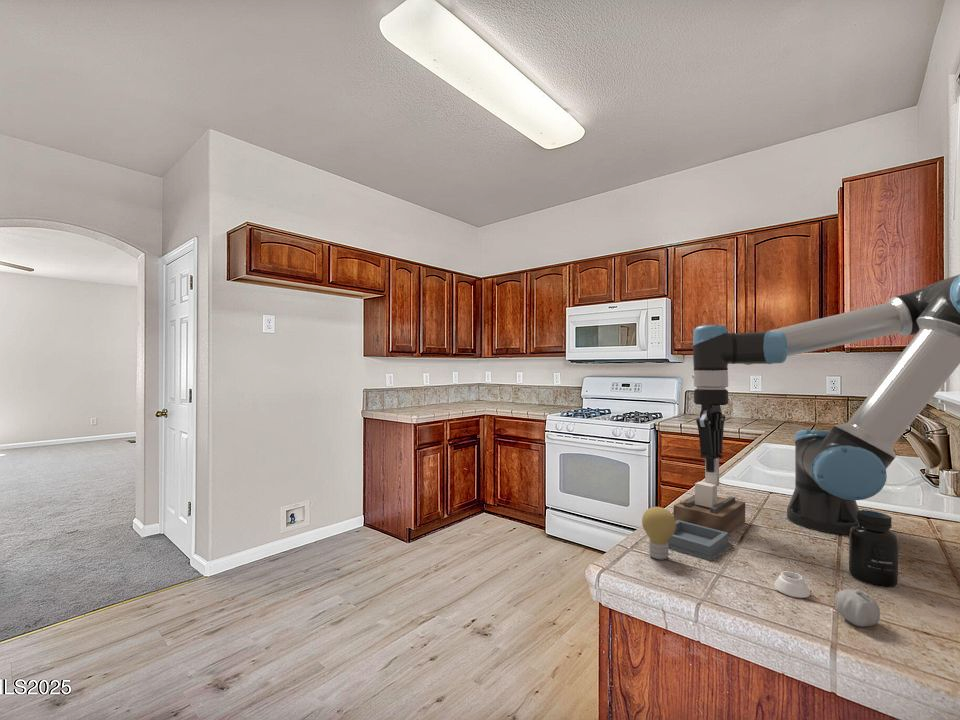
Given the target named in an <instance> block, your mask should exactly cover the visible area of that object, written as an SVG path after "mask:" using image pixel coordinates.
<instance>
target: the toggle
mask: <svg viewBox="0 0 960 720" xmlns="http://www.w3.org/2000/svg"><path fill="white" fill-rule="evenodd" d="M694 495H695V504H696V505H701V506H705V507H710V508H711V507H713V506H715V505H717V497H718V486H717V485H716V484H711V483H706V482H705V481H697V482H695V483H694Z"/></svg>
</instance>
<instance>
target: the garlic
mask: <svg viewBox="0 0 960 720" xmlns="http://www.w3.org/2000/svg"><path fill="white" fill-rule="evenodd" d="M834 607H835V609H836V611H837V613H838V614H839V615H840V616H841V617H842V618H843V619H845V620H846V621H847V622H849V623H850V624H852V625H854V626H857V627H862V628H863V627H871V626H873V625H875V624H878V623H879V621H880V619H881V610H880V606H879V604H878V602H877V601H876V599H874V598H873V597H872V596H870V595H869V594H868V593H867V592H865V591H863V590H862V589H859V588H858V589H849V588H848V589H845V588H844V589H842V590H839V591H837V594H836V595H835V596H834Z"/></svg>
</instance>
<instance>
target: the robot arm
mask: <svg viewBox="0 0 960 720" xmlns="http://www.w3.org/2000/svg"><path fill="white" fill-rule="evenodd" d="M893 335H901V337H902V336H903V337H908V336H909V337H910V336H913V335H914V337H913V338H912V339H911V341H910V342H909V343H908V344H907V345H906V347H905V348H904V349H903V351H902V352H901V353H900V354H899V356H898V357H897V359H896V360H895V361H894V362H893V364H892V365H891V366H890V367H889V368H888V370H887V371H886V373H885V374H884V375H883V376H882V378H881V379H880V380H879V382H878V383H877V384H876V385H875V387H874V388H873V389H872V390H871V391H870V393H869V395H868V396H866V398H865V399H864V400H863V402H862V403H861V404H860V406H859V407H858V408H857V410H856V411H855V412H854V413H853V415H852V416H851V417H850V419H848V421H847V422H846V423H839V424H835V425H833V427H832V428H831V430H820V429H819V430H817V429H815V430H814V429H800V430H798V431H796V434H795V439H794V444H795V447H794V448H795V450H794V451H795V461H794V463H795V464H794V465H795V468H794V471H795V473H794V474H795V480H794V482H795V483H794V484H795V486H794V490H793V493H792V495H791V498H790V501H789V503H788V505H787V508H786V518H787V519H788V520H789V521H791V522H792V523H793V524H797V525H798V526H801V527H805V528H808V529H812V530H816V531H820V532H826V533H831V534H832V533H833V534H841V535H850V528H851V527H852V526H853V525H855V524H858V522H857V521H856V518H857V511H858V510H860V508H859V506H858V503H857V501H862V500H867V499H871V498H872V497H874V496H876V495H877V494H879V493H880V492H881V491H882V490H883V488H884V487H885V485H886V483H887V476H888V475H887V468H888V467H889V466H890V465H891V464H892V462H893V461H894V460H895V459H896V457H897V456H896V453H895V450H894V445H895V444H896V443H897V442H898V440H899V439H900V438H901V437H902V436H903V434H904V433H905V431H906V430H907V429H908V428H909V427H910V425H911V424H912V423H913V421H914V420H916V418H917V417H918V415H919V414H920V413H921V412H922V411H923V409H924V408H925V407H926V406H927V404H929V402H930V401H931V399H933V398H934V396H935V395H936V393H937V392H938V391H939V390H940V388H941V387H943V385H944V384H945V383H946V381H947V380H948V379H949V378H950V376H951V375H952V374H953V373H954V372H955V371H956V369H957V368H958V367H959V365H960V274H957V275H953V276H951V277H948V278H944V279H941V280H939V281H936V282H934V283H931V284H929V285H927V286H924V287H922V288H918V289H917V290H913V291H910V292H907V293H905V294H904V293H903V294H900V295H896V296H892V297H890V299H889V300H888V302H885V303H881V304H876V305H871V306H868V307H864V308H858V309H855V310H852V311H851V310H850V311H847V312H843V313H842V312H841V313H839V314H835V315H830V316H825V317H822V318H816V319H814V320H813V319H812V320H808V321H804V322H801V323H795V324H792V325H787V326H783V327H779V328H774V329H770V330H767V331H755V332H737V333H736V332H729V330H728V328H727V325H725V324H707V325H699V326H696V327H695V328H694V329H693V333H692V336H693V337H692V338H693V339H692V352H693V353H692V356H693V357H692V358H693V359H692V360H693V363H692V364H693V374H692V376H691V378H692V379H693V386H694V387H695V389H694V390H693V403H694V404H695V405H700V406H701V408H700V412H699V417H696V419H695V420H696V421H695V422H696V425H697V430H698V437H699V438H698V439H699V447H700V458H702V459H704V478H705V479H704V480H705V481H704V482H706V483H711V484H716V485H717V487H719V486H720V459H723V458H724V455H723V444H724V428H725V421H726V415H724V414H723V412H722V408H721V406H726V405H728V404H729V390H728V389H726V388H728V387H729V372H728V371H729V369H728V365H731V364H732V365H741V364H742V365H747V366H750V365H757V364H759V365H761V364H762V365H772V364H774V365H775V364H783V363H784V362H785V361H786V360H787V358H788V357H791V356H795V355H801V354H805V353H810V352H815V351H819V350H820V351H821V350H824V349H829V348H835V347H839V346H843V345H844V346H845V345H849V344H853V343H858V342H864V341H868V340H872V339H877V338H883V337H888V336H893Z"/></svg>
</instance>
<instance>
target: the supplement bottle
mask: <svg viewBox="0 0 960 720" xmlns="http://www.w3.org/2000/svg"><path fill="white" fill-rule="evenodd" d="M892 519H893V518H892V516H891V515H888V514H886V513H882V512H880V511H873V510H867V509H859V510H858V511H857V518H856V521H857V522H858V524H855V525H853V526H852V527H851V528H850V534H848V535H849V537H848V538H849V540H848V541H849V542H848V546H849V547H848V572H849V574H850V576H852V578H854V579H855V580H858V581H860V582H862V583H863V584H864V583H865V584H868V585H871V586H875V587H882V588H894V587H897V585H898V583H899V557H900V556H899V549H900V546H899V545H900V544H899V543H900V541H899V538H898V536H897V534H896V533H895V532H894V531H892V530H891V529H892V528H893V524H892Z"/></svg>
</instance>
